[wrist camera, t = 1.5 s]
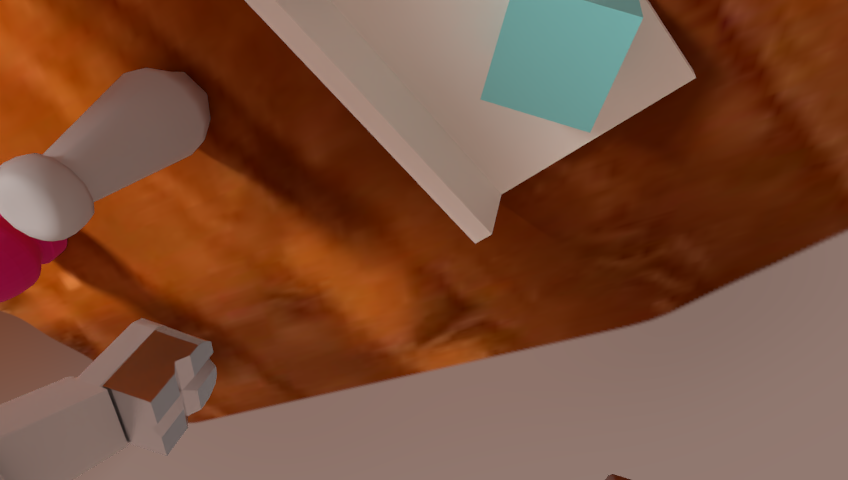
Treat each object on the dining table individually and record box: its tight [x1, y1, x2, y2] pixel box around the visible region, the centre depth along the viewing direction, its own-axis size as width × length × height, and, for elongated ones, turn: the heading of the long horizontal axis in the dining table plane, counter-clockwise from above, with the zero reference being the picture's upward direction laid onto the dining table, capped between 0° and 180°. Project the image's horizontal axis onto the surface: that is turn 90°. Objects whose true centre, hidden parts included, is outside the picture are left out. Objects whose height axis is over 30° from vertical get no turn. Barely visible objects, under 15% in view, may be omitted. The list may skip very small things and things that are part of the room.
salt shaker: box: [0, 68, 211, 241], centre depth 30 cm, size 6×6×13 cm
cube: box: [480, 0, 643, 133], centre depth 24 cm, size 5×5×5 cm
